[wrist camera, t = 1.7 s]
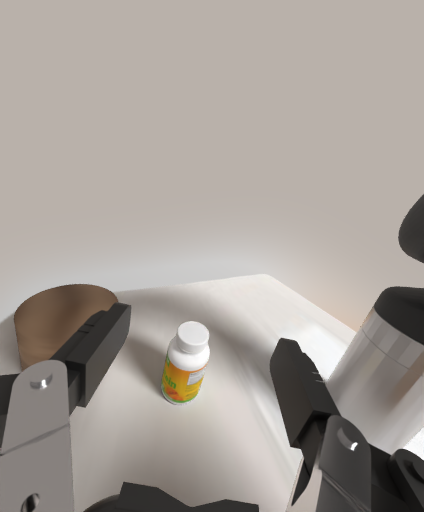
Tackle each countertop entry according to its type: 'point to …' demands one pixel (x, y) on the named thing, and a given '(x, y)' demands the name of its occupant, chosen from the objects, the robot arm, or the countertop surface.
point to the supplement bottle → (185, 363)
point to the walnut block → (56, 318)
